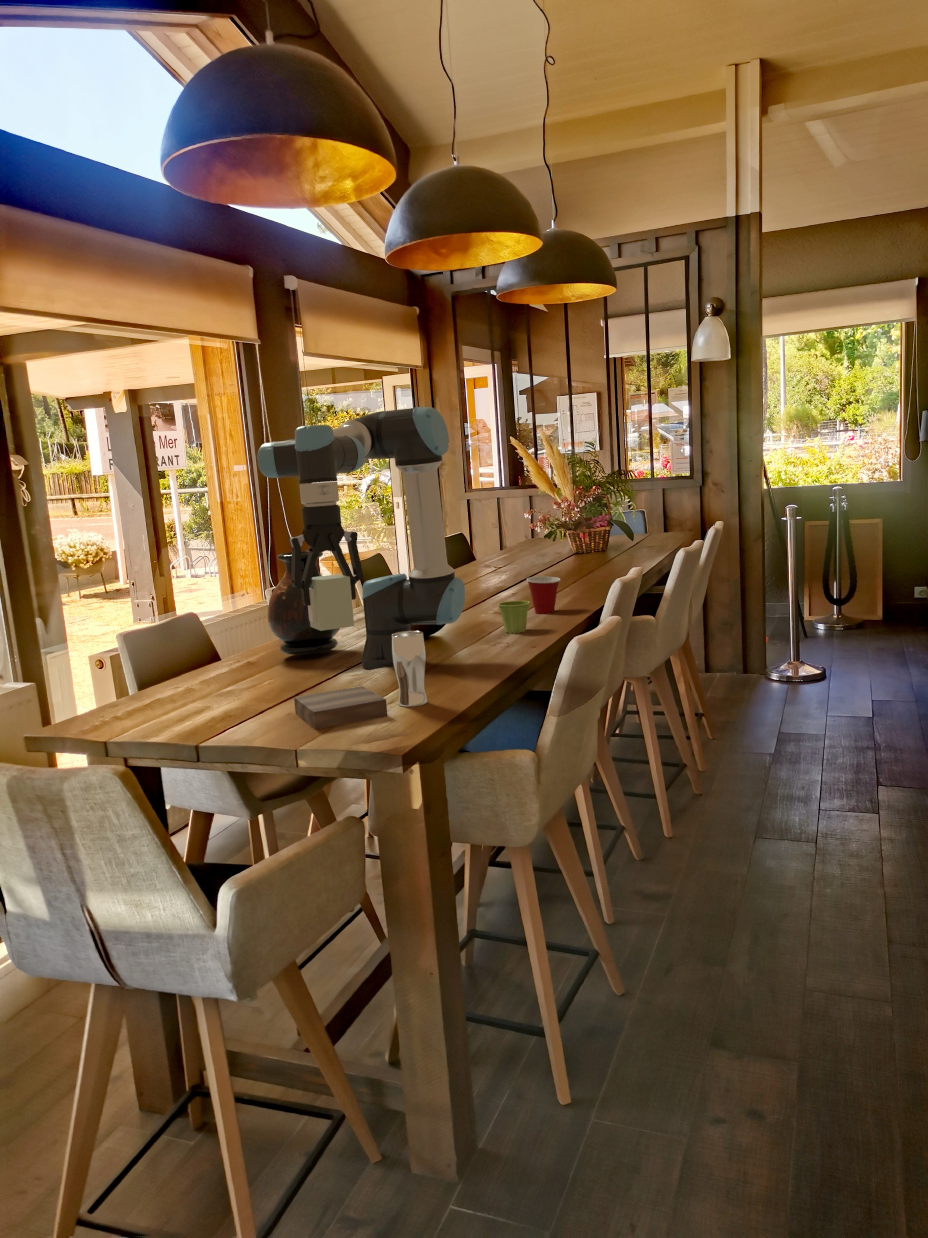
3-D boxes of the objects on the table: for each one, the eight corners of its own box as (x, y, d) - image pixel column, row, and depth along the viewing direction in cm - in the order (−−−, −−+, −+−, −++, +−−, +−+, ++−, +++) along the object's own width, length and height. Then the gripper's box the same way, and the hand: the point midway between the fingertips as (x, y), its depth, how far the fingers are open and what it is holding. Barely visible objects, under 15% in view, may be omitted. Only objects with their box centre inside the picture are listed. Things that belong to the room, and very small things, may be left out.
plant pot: (501, 630, 277) (499, 601, 276) (532, 628, 276) (531, 599, 274) (497, 635, 268) (495, 606, 266) (530, 634, 266) (528, 604, 265)
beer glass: (398, 700, 200) (392, 631, 198) (430, 698, 200) (424, 629, 198) (394, 708, 193) (388, 637, 191) (428, 706, 193) (422, 635, 191)
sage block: (310, 626, 190) (305, 577, 189) (343, 621, 193) (338, 574, 192) (320, 630, 184) (315, 580, 182) (354, 626, 187) (349, 576, 185)
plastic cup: (550, 618, 291) (548, 580, 289) (522, 617, 298) (519, 579, 296) (568, 612, 300) (566, 575, 298) (540, 611, 306) (538, 575, 304)
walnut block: (295, 715, 195) (293, 697, 195) (363, 704, 201) (362, 685, 201) (315, 731, 182) (313, 712, 181) (387, 718, 188) (386, 699, 187)
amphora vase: (360, 648, 264) (351, 549, 260) (290, 661, 252) (279, 558, 248) (326, 640, 282) (317, 547, 277) (259, 651, 270) (249, 555, 266)
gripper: (275, 508, 177) (288, 627, 181) (374, 500, 185) (384, 614, 189) (266, 508, 184) (278, 623, 187) (361, 500, 192) (371, 610, 196)
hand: (331, 618), depth 188 cm, fingers closed on sage block, 7 cm apart
